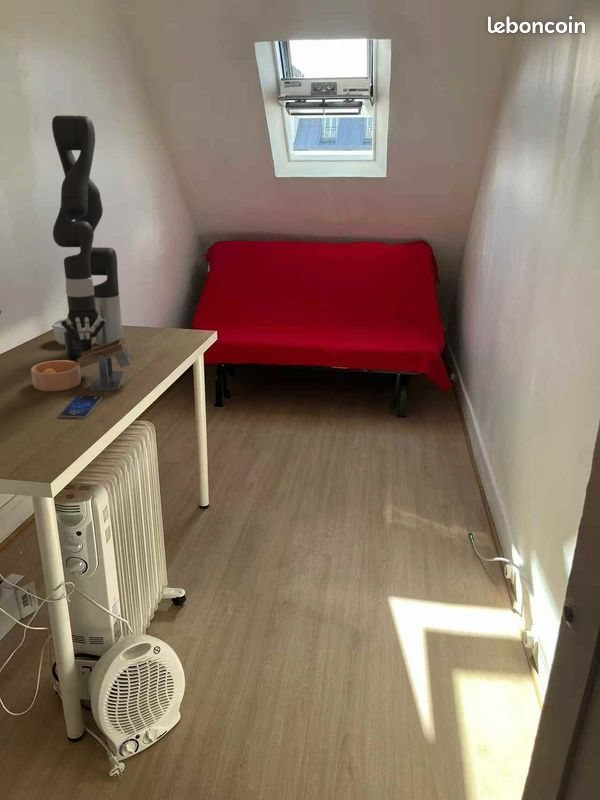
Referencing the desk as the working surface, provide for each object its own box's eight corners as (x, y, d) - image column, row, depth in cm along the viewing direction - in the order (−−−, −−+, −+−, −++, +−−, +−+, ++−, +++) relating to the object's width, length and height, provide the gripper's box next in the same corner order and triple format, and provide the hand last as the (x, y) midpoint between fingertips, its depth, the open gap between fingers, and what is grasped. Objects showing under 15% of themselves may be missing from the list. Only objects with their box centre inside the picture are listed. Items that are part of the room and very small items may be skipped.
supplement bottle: (92, 355, 199) (88, 319, 195) (83, 361, 193) (79, 325, 188) (72, 354, 200) (68, 319, 195) (63, 360, 193) (58, 324, 189)
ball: (48, 364, 173) (61, 371, 174) (41, 374, 173) (54, 382, 175) (45, 368, 169) (58, 376, 170) (37, 379, 170) (50, 387, 171)
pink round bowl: (40, 377, 178) (37, 360, 176) (84, 375, 180) (82, 359, 178) (28, 392, 166) (26, 374, 164) (76, 390, 168) (73, 373, 166)
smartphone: (103, 395, 164) (86, 417, 150) (104, 398, 164) (86, 420, 150) (76, 394, 164) (56, 416, 150) (77, 397, 164) (56, 419, 150)
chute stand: (97, 374, 181) (94, 344, 177) (124, 374, 182) (121, 343, 179) (89, 391, 168) (85, 358, 165) (118, 390, 169) (115, 357, 166)
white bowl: (101, 340, 216) (99, 321, 213) (70, 349, 205) (68, 329, 203) (77, 334, 222) (74, 316, 220) (46, 342, 212) (43, 323, 209)
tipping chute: (96, 364, 184) (86, 344, 182) (135, 349, 184) (126, 330, 182) (87, 380, 170) (76, 359, 168) (130, 364, 171) (120, 344, 168)
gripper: (106, 290, 177) (111, 346, 183) (59, 290, 175) (66, 347, 181) (102, 295, 170) (108, 353, 176) (53, 296, 168) (61, 355, 174)
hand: (87, 350), depth 179 cm, fingers closed
